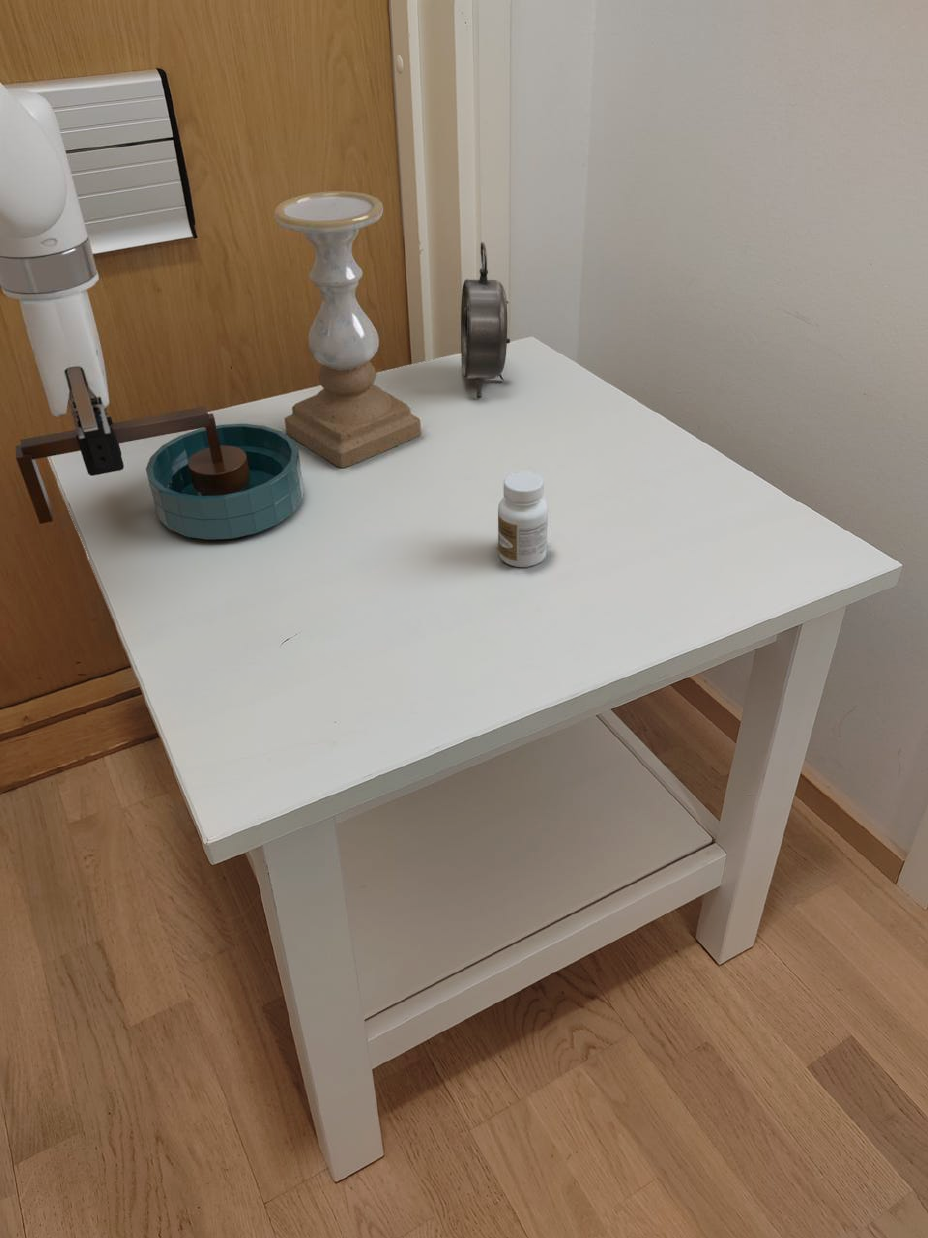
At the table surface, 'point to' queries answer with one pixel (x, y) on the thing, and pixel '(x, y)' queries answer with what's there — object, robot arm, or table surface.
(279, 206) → the candle holder
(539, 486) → the pill bottle
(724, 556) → the table surface
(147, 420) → the ladle
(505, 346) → the alarm clock
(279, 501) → the bowl
